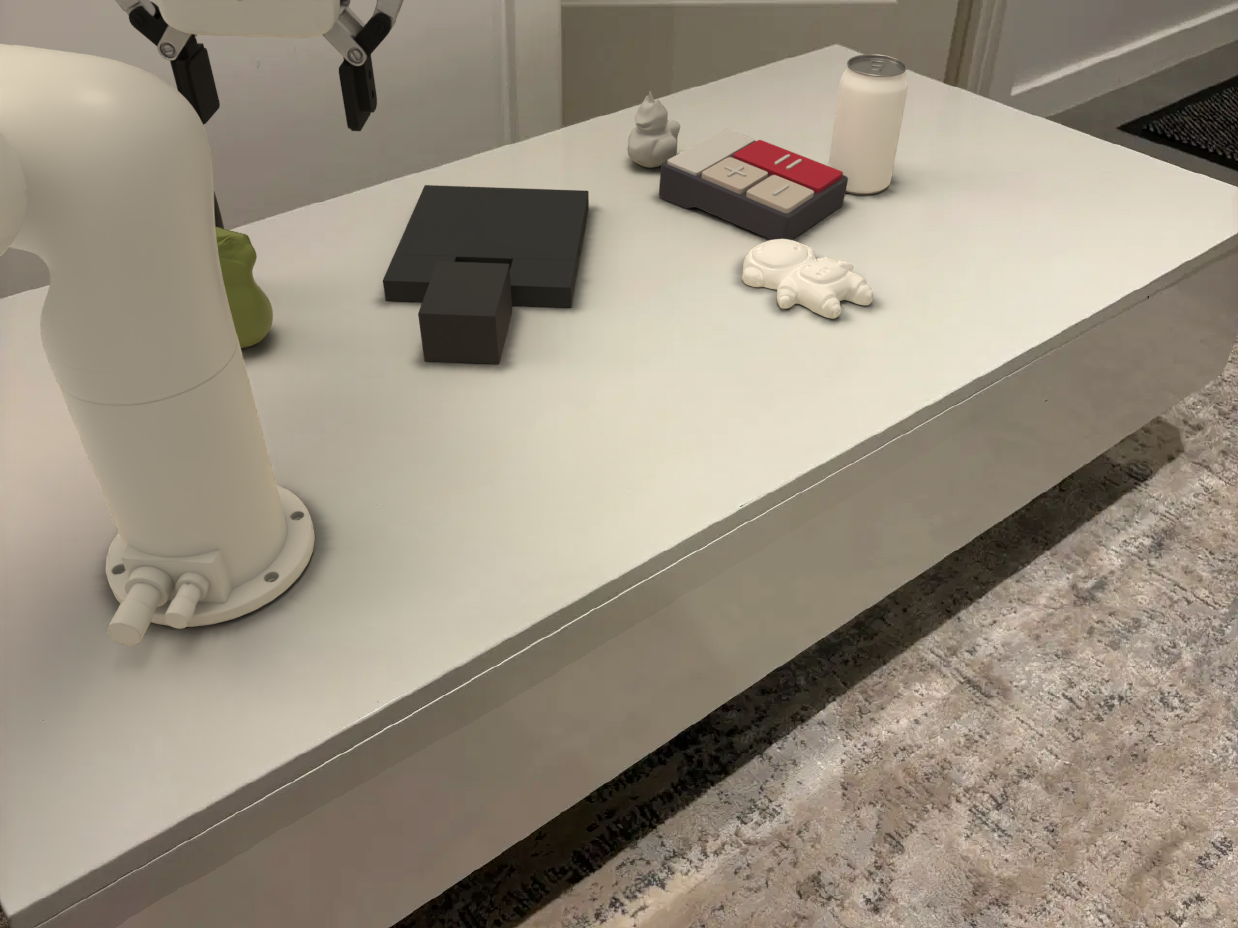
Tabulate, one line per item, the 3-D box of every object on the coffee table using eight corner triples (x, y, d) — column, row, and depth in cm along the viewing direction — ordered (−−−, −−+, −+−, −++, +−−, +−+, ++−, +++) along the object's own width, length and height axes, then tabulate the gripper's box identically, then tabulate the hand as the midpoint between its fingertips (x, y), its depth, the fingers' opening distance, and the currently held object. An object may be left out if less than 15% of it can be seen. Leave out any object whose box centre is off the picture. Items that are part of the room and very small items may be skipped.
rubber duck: (613, 163, 114) (614, 88, 109) (658, 145, 117) (661, 72, 112) (649, 180, 111) (651, 104, 106) (694, 162, 114) (698, 87, 109)
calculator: (790, 210, 98) (659, 156, 105) (782, 252, 101) (656, 196, 108) (851, 170, 105) (725, 121, 111) (843, 209, 107) (720, 160, 114)
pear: (194, 350, 87) (161, 238, 80) (238, 317, 91) (209, 208, 84) (251, 367, 85) (221, 254, 79) (292, 333, 89) (268, 223, 82)
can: (821, 190, 109) (837, 72, 101) (832, 164, 114) (848, 49, 106) (885, 200, 108) (907, 81, 100) (894, 173, 112) (915, 57, 105)
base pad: (571, 308, 92) (570, 287, 91) (385, 300, 93) (382, 280, 92) (588, 209, 106) (588, 190, 105) (426, 203, 107) (424, 184, 105)
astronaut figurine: (809, 331, 90) (814, 300, 88) (722, 268, 97) (724, 238, 95) (887, 301, 93) (893, 270, 91) (797, 243, 101) (801, 213, 99)
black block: (499, 364, 86) (495, 316, 83) (424, 361, 86) (417, 313, 83) (518, 285, 95) (515, 239, 92) (450, 283, 95) (445, 237, 92)
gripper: (21, -190, 53) (121, 141, 65) (367, -183, 53) (409, 150, 64) (87, -216, 59) (169, 92, 70) (400, -210, 58) (433, 101, 70)
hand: (283, 120), depth 67 cm, fingers open, 9 cm apart
